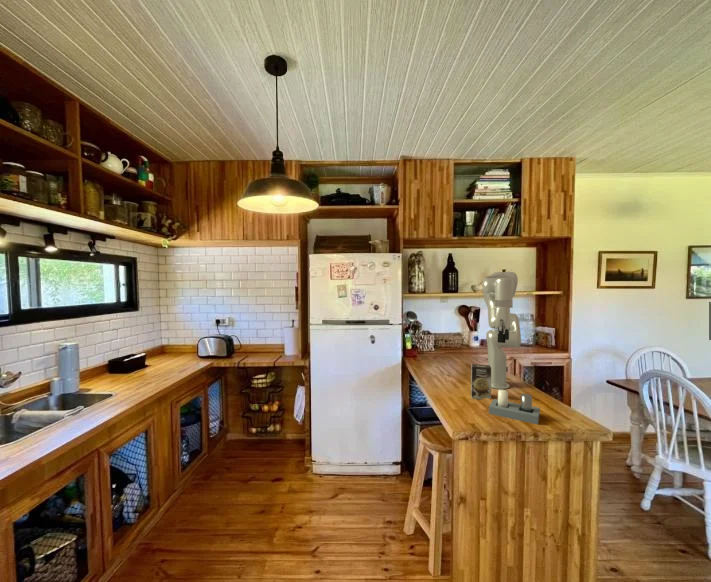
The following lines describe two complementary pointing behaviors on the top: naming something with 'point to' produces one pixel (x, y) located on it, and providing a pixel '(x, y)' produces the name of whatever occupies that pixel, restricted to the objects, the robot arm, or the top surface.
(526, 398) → the metal cylinder peg
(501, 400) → the cream rounded smooth part
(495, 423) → the top surface
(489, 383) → the coffee box
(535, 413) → the block
